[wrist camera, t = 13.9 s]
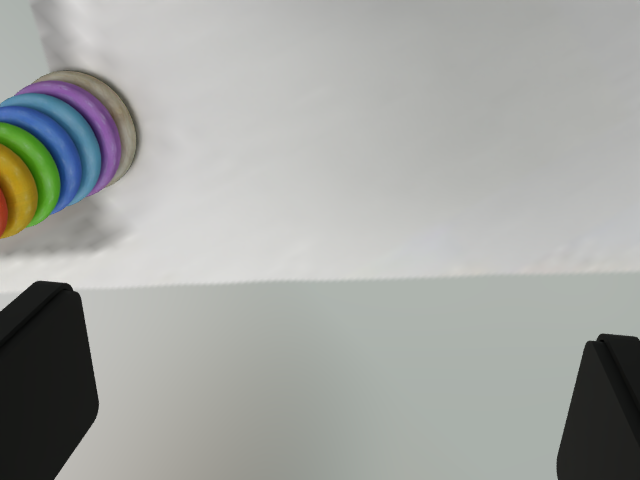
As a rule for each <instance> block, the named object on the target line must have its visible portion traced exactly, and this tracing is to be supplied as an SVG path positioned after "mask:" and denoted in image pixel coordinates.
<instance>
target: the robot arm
mask: <svg viewBox="0 0 640 480" xmlns="http://www.w3.org/2000/svg"><path fill="white" fill-rule="evenodd" d="M98 408H99V400H98V394H97V389H96V382H95V377H94V371H93V365H92V359H91V353H90V347H89V342H88V336H87V330H86V324H85V319H84V312H83V307H82V301H81V297H80V295H79V293H78V292H75V291H73V288H72V287H71V285H69V284H67V283H59V282H49V281H37V282H35V283H33V284H32V285H31V286H30V287H28V288H27V289H26V290H25V291H24V292H23V293H21V294H20V295H19V296H18V297H17V298H16V299H14V301H12V302H11V303H10V304H9V305H8V306H6V307H5V308H4V309H3V310H2V311H0V480H54V479H55V477H56V476H57V475H58V473H59V472H60V470H61V469H62V467H63V466H64V464H65V463H66V461H67V460H68V458H69V457H70V456H71V454H72V453H73V451H74V450H75V448H76V447H77V446H78V444H79V443H80V441H81V440H82V438H83V437H84V435H85V434H86V433H87V431H88V430H89V428H90V427H91V425H92V424H93V422H94V421H95V419H96V416H97V413H98ZM557 476H558V480H640V340H639V339H638V338H637V337H633V336H623V335H613V334H600V335H599V336H598V338H597V340H596V341H588V342H587V343H586V345H585V348H584V351H583V355H582V360H581V364H580V368H579V371H578V375H577V380H576V384H575V387H574V391H573V396H572V399H571V403H570V408H569V412H568V416H567V420H566V424H565V428H564V432H563V436H562V440H561V444H560V448H559V452H558V456H557Z"/></svg>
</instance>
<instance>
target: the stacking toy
mask: <svg viewBox="0 0 640 480" xmlns="http://www.w3.org/2000/svg"><path fill="white" fill-rule="evenodd" d="M135 150H136V133H135V128H134V124H133V121H132V118H131V116H130V114H129V112H128V110H127V108H126V106H125V105H124V103H123V102H122V100H121V99H120V98H119V96H118V95H117V94H116V93H115V92H114V91H113V90H112V89H111V88H110V87H109V86H107V85H106V84H105V83H103V82H101V81H100V80H98V79H96V78H94V77H92V76H90V75H87V74H84V73H80V72H75V71H58V72H53V73H49V74H47V75H44V76H42V77H40V78H39V79H37V80H36V81H34V82H33V83H32V84H31V85H28V86H27V87H25V88H23V89H22V90H20V91H19V92H18V93H17V94H16V95H15V96H13V97H11V98H8V99H7V100H5V101H3V102H2V103H1V104H0V239H1V238H6V237H10V236H13V235H15V234H17V233H19V232H20V231H22V230H23V229H24V228H27V227H31V226H34V225H36V224H38V223H40V222H41V221H43V220H44V219H45V218H47V217H48V216H49V215H51V214H54V213H56V212H58V211H60V210H62V209H63V208H65V207H66V206H70V205H73V204H75V203H77V202H79V201H80V200H82V199H83V198H84V197H87V196H90V195H93V194H95V193H97V192H99V191H100V190H102V189H103V188H105V187H108V186H110V185H112V184H114V183H115V182H116V181H118V180H119V179H120V178H121V177H122V176H123V175H124V174H125V173H126V172H127V170H128V169H129V167H130V165H131V163H132V161H133V158H134V155H135Z"/></svg>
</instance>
